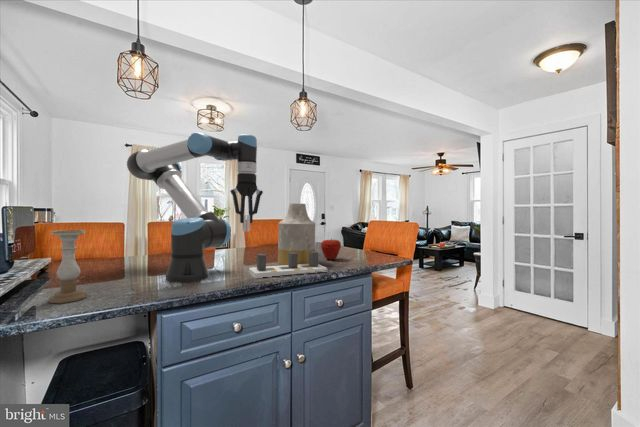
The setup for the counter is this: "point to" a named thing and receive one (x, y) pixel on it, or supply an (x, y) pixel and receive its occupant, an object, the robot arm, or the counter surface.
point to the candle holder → (68, 269)
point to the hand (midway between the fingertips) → (246, 231)
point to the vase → (296, 235)
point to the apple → (330, 248)
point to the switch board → (284, 270)
